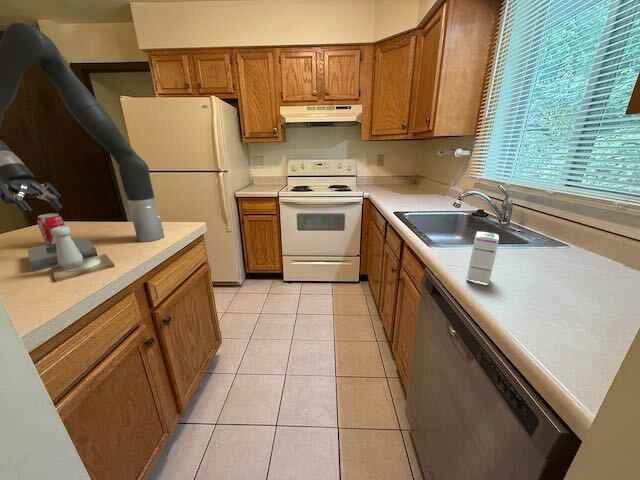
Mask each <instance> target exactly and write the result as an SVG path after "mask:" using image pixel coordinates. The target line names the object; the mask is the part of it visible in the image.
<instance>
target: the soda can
mask: <svg viewBox="0 0 640 480" xmlns="http://www.w3.org/2000/svg"><path fill="white" fill-rule="evenodd" d="M37 218H38V219H37V224H38V227H39V231H40V234H41V237H42V238H43V242H44V243H45V245H49V244H54V243H56V238H55V236H52V234H51V229H53V228H55V227H60V226H66V224H65V221H64V220H63V217H62V216H61V215H59V213H57V212H56V213H55V212H54V213H45V214H40V215H37Z"/></svg>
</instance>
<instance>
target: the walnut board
mask: <svg viewBox="0 0 640 480" xmlns="http://www.w3.org/2000/svg"><path fill="white" fill-rule="evenodd" d="M110 268H115V263H114V262H113V261H112V260H111V258H109V256H108V255H107V254H106V253H105V254H100V255H99V254H98V256H95V257H90V258H86V259H83V261H82V265H81V266H79V267H77V268H73V269H64V268H63V267H62V266H61V265H56V266H51V268H50V269H51V271H52V274H53V277H54V280H55V282H56V283H58V282H60V281H65V280H68V279H72V278H76V277H81V276H84V275H87V274H91V273H96V272H99V271H103V270H106V269H110Z"/></svg>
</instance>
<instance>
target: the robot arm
mask: <svg viewBox="0 0 640 480" xmlns="http://www.w3.org/2000/svg"><path fill="white" fill-rule="evenodd" d="M33 64H35V65H36V66H37V68H38V69H40V70H41V71H42V73H43V74H44V75H45V76H46V77H47V78H48V80H50V81H51V83H52V84H53V86H54V87H55V88H56V90H57V92H58V94H59V95H60V98H61V100H62V102H63V103H64V105H65V107H66V108H67V110H68V111H69V112H70V114H71V116H73V118H74V119H75V120H76V121H77V122H78V123H79V125H80V126H81V127H82V128H83V129H84V130H85V131H86V132H87V133H88V134H89V135H90V136H91V137H92V138H93V139H94V140H95V141H97V142H98V144H100V145H101V146H102V147H104V149H105V150H106V151H107V152H108V153H109V154H110V155H111V157H112V158H113V159H114V161H115V162H116V163H117V165H118V170H119V175H120V179H121V183H122V188H123V191H124V194H125V195H126V199H127V204H128V208H129V211H130V215H131V219H132V224H133V227H134V232H135V236H136V240H137V241H138V242H142V243H147V242H154V241H157V240H160V239H163V238H165V234H164V227H163V222H162V219H161V216H160V215H159V212H158V208H157V203H156V198H155V193H154V189H153V186H152V180H151V176H150V168H149V165H148V163H146V161H145V160H143V159H142V157H141V156H139V154H138V153H137V152H136V151H135V149H133V147H132V146H131V145H130V144H129V143H128V142H127V140H126V139H125V138H124V136H123V134H122V133H121V131H120V130H119V128H118V127H117V125H116V124H115V122H114V121H113V120H112V118H111V117H110V114H108V113H107V111H106V110H105V108H104V107H103V106H102V105H101V103H99V101H98V100H97V98H96V97H95V96H94V95H93V94H92V93H91V92H90V91H89V89H88V88H87V87H86V85H84V83H83V82H82V81H81V80H80V79H79V77H77V76H76V74H75V72H74V71H73V70H72V68H71V67H70V65H69V64H68V62H67V61H66V59H65V58H64V56H63V55H62V53H61V52H60V50H59V49H58V47H57V45H56V44H55V43H54V42H53V40H52V39H51V38H50V37H48V35H46V34H44V33H43V32H42V31H40V30H39V29H37V28H36V27H34V26H32V25H30V24H27V23H24V22H13V23H11V24H9V25H7V27H6V29H5V31H4V33H3V35H2V38H1V41H0V128H1V125H2V121H3V117H4V113H5V111H7V110H8V108H9V107H10V105H11V104H12V103H13V101H14V100H15V98H16V96H17V93H18V90H19V86H20V82H21V80H22V77H23V76H24V74H25V72H26V71H27V70H28V69H29V68H30V67H31V66H32V65H33ZM11 192H12V193H14V195H12V193H11ZM41 193H43V194H41ZM61 196H62V195H61V193H59V192H58V190H57V189H56V188H55V187H54V186H53V185H52V184H51V183H50V182H45V183H42V184H41V183H40V182H37V181H36V177H35V175H34V174H33V172H31V170H30V169H29V168H28V167H27V166H26V164H25V163H24V162H23V161H22V160H21V159H20V158H19V157H18V156H17V155H16V154H15V153H14V152H13V151H12V149H10V148H9V146H8V145H7V143H5V142H4V141H3V140H1V139H0V199H1V200H2V202H3V203H4V204H6V205H7V204H8V205H9V204H13V205H14V206H16V207H17V208H18V209H19V210H20V211H21V212H22V213H23V214H25V215H30V214H31V213H32V212H33V209H32V208H31V207H30V205H29V204H28V203H27V202H26V200H23V199H24V198H25V199H27V198H37V199H39V200H44V201H46V202H49V205H50V206H51V207H52V208H53V209H54V210H55V212H61V210H62V209H63V205H62V203H61V202H59V199H60V198H61Z"/></svg>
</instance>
